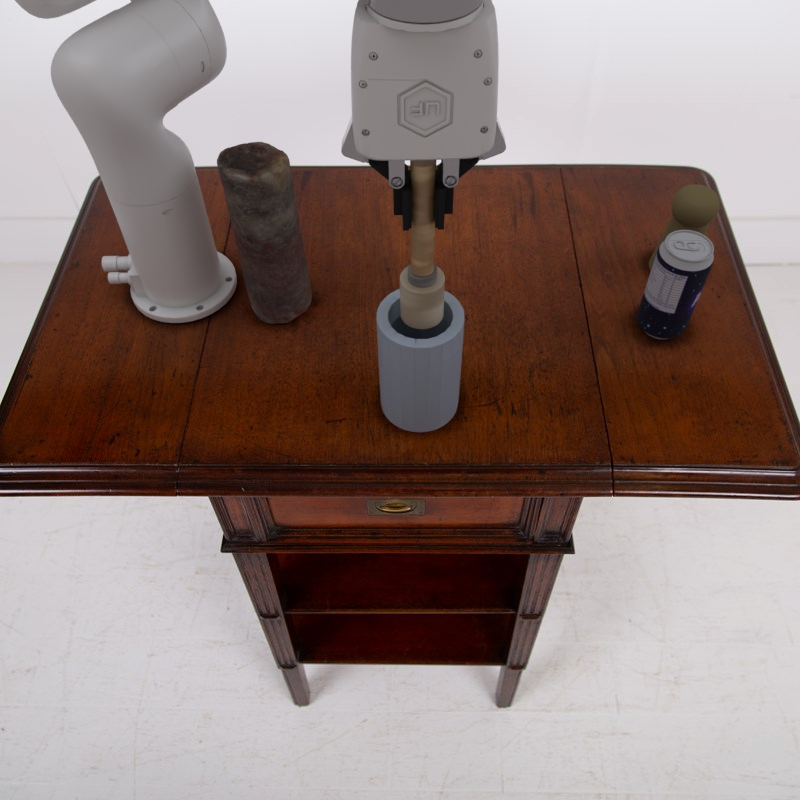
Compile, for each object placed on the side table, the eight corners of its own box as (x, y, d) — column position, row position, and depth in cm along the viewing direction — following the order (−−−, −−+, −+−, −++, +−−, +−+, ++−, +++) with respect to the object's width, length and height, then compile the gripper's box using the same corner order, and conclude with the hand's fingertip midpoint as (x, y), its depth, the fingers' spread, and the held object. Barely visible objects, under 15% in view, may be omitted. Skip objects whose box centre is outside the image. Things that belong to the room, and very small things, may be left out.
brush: (400, 329, 69) (397, 175, 56) (400, 299, 72) (396, 144, 59) (444, 329, 69) (451, 174, 56) (442, 298, 72) (448, 143, 59)
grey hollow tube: (380, 433, 78) (376, 348, 68) (381, 373, 83) (376, 285, 73) (460, 431, 78) (467, 346, 68) (455, 371, 83) (461, 284, 73)
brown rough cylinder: (244, 290, 92) (209, 144, 76) (302, 275, 93) (280, 128, 78) (259, 332, 87) (225, 186, 72) (320, 316, 89) (300, 169, 73)
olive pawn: (645, 277, 92) (669, 203, 84) (651, 246, 96) (675, 172, 87) (696, 288, 91) (726, 213, 82) (700, 256, 95) (729, 182, 86)
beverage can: (685, 347, 85) (719, 266, 76) (634, 340, 86) (661, 259, 76) (684, 312, 89) (716, 230, 79) (634, 305, 89) (660, 224, 80)
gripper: (293, 12, 45) (323, 252, 60) (560, 6, 45) (525, 247, 59) (302, -40, 50) (327, 193, 64) (543, -46, 50) (515, 189, 64)
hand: (422, 218), depth 62 cm, fingers closed on brush, 2 cm apart
